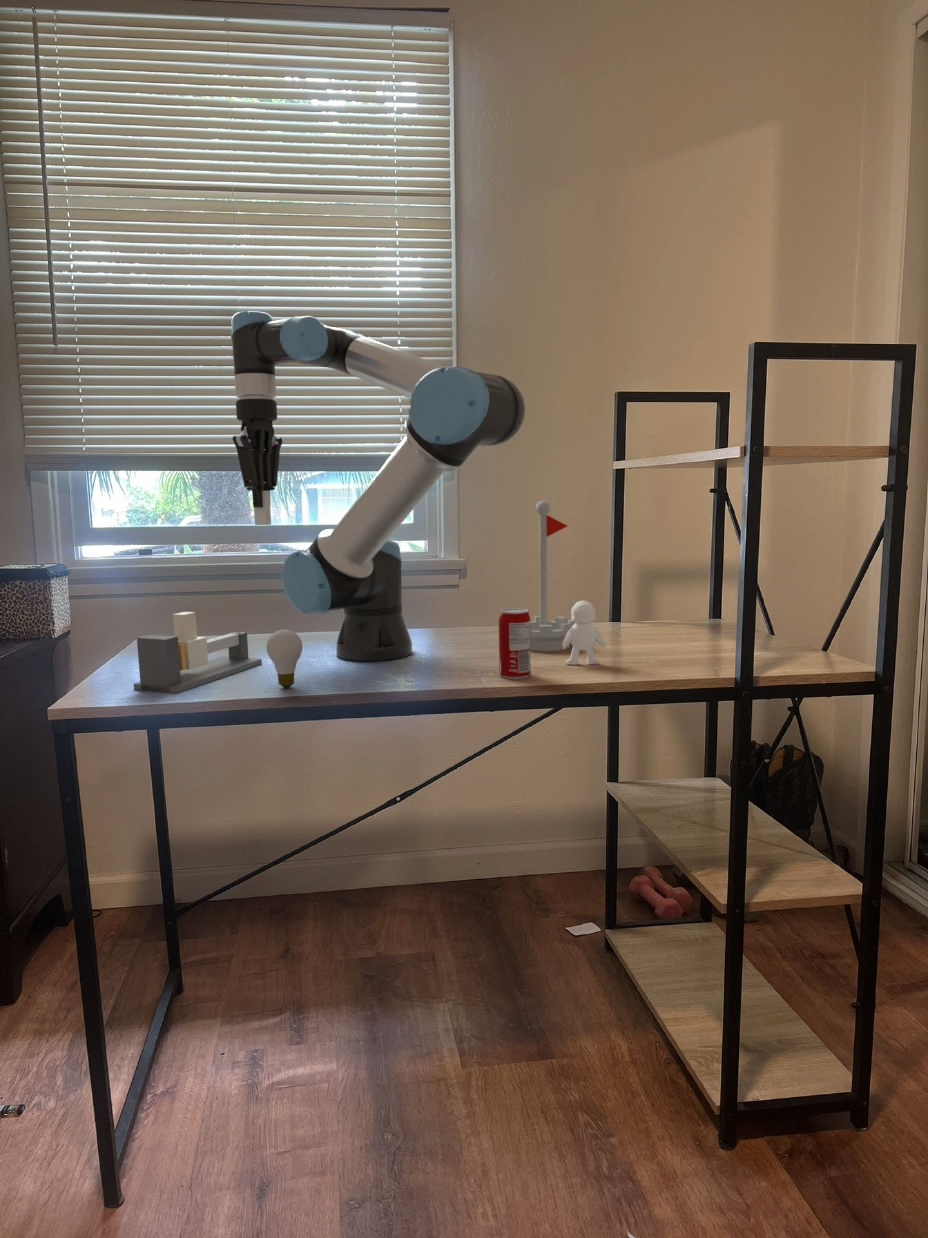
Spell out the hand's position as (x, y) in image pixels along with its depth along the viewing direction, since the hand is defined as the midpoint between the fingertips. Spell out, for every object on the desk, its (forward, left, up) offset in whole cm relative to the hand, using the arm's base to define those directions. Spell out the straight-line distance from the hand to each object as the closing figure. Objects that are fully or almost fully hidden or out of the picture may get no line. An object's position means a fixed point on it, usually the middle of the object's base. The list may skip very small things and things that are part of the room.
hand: (262, 524), depth 162 cm
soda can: (-51, 0, -27) cm, 58 cm away
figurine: (-60, -13, -27) cm, 67 cm away
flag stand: (-48, -28, -27) cm, 62 cm away
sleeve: (+3, +20, -24) cm, 32 cm away
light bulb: (-17, +20, -27) cm, 37 cm away
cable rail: (+3, +17, -26) cm, 32 cm away
